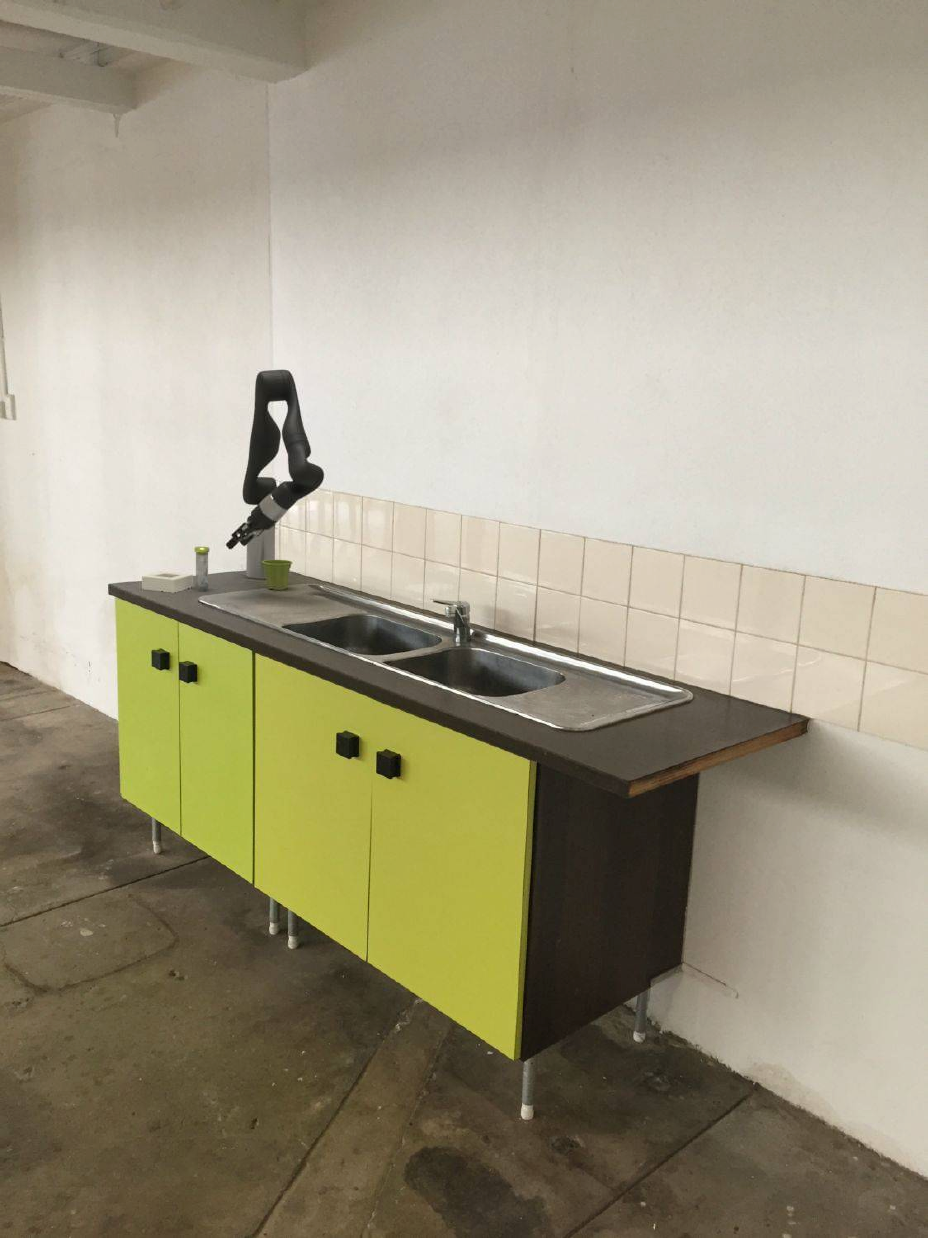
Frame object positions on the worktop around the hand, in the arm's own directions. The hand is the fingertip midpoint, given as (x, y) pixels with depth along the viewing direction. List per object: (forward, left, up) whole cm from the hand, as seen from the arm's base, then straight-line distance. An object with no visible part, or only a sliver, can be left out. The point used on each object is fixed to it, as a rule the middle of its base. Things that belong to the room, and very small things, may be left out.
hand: (235, 545), depth 314 cm
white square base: (+3, -21, -15) cm, 26 cm away
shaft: (0, -11, -15) cm, 19 cm away
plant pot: (-15, +7, -15) cm, 22 cm away
